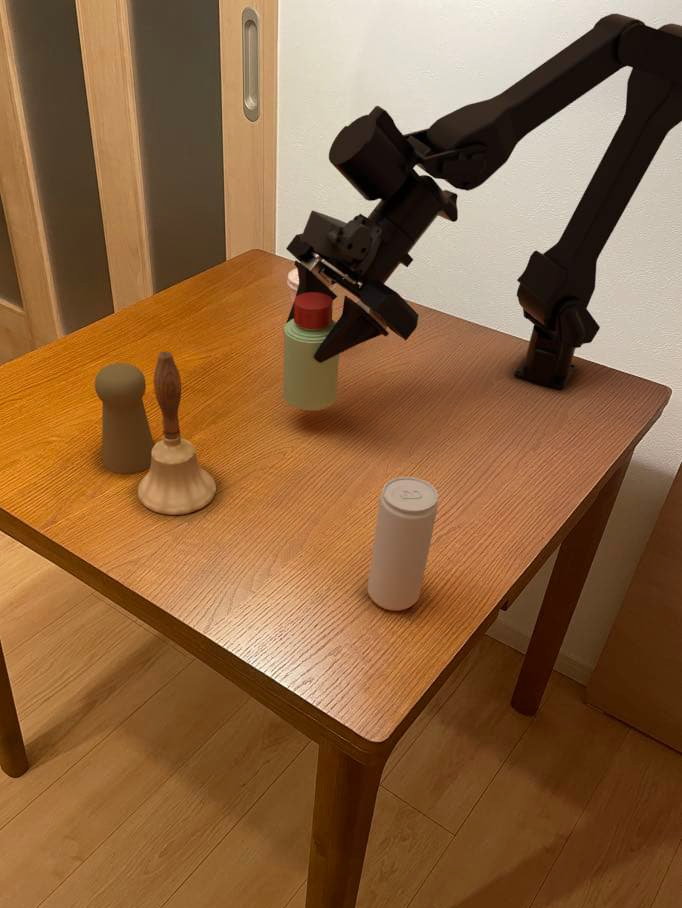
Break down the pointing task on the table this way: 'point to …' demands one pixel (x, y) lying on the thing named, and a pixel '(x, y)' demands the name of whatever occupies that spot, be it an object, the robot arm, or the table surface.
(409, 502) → the beverage can
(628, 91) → the robot arm
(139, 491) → the hand bell
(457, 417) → the table surface
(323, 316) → the bottle cap
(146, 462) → the cork
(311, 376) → the sauce bottle
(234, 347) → the table surface
